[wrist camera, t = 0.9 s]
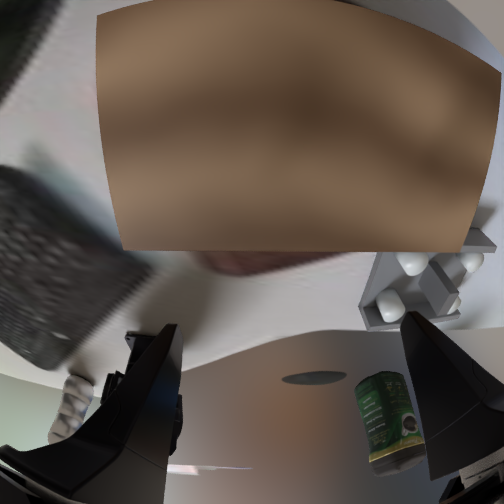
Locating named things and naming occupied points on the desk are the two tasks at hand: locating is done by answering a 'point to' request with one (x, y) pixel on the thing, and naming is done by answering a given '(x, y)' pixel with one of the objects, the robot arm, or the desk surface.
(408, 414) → the coffee jar
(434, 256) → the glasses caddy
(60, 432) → the plastic bottle
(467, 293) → the desk surface
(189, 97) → the tan rectangular block
